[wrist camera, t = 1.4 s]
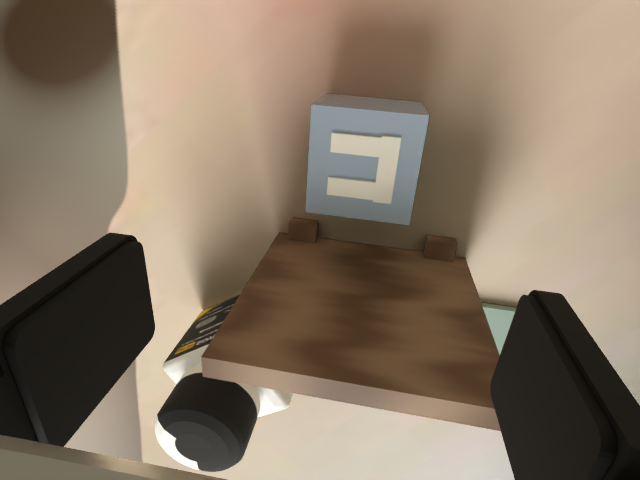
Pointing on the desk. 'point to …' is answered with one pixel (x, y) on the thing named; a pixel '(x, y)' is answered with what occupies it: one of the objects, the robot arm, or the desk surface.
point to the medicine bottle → (209, 403)
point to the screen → (362, 328)
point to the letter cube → (365, 157)
